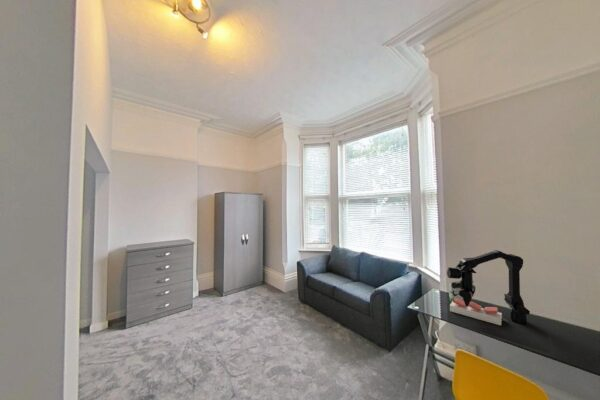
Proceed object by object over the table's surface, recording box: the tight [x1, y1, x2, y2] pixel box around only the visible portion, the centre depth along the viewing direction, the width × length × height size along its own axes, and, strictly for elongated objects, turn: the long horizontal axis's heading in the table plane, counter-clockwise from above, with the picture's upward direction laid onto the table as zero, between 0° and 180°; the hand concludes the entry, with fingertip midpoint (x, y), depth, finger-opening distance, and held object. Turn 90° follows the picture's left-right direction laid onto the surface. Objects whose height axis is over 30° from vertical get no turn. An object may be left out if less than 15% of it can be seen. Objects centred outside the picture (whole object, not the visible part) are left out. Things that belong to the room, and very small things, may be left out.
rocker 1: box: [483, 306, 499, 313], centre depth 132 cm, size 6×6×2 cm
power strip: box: [449, 301, 509, 326], centre depth 137 cm, size 28×9×4 cm, turn 44°
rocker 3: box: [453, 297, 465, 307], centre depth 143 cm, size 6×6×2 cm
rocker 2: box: [468, 300, 482, 311], centre depth 138 cm, size 6×6×2 cm
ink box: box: [448, 283, 464, 303], centre depth 157 cm, size 9×5×12 cm, turn 73°
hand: (467, 303), depth 137 cm, fingers open, 9 cm apart
